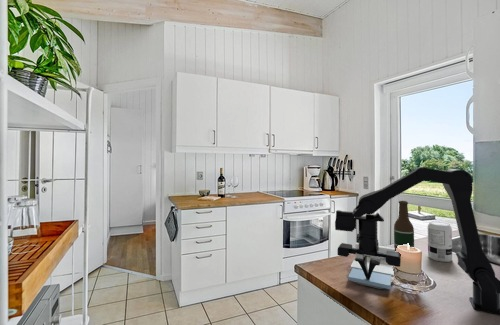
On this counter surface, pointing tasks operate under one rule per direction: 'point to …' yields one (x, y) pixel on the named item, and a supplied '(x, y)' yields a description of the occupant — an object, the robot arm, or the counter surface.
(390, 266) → the white stepped block
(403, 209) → the beer bottle
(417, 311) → the counter surface
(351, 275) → the panel
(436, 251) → the supplement can
